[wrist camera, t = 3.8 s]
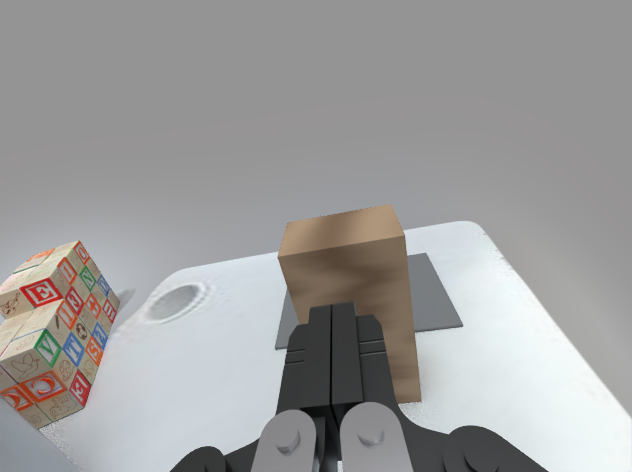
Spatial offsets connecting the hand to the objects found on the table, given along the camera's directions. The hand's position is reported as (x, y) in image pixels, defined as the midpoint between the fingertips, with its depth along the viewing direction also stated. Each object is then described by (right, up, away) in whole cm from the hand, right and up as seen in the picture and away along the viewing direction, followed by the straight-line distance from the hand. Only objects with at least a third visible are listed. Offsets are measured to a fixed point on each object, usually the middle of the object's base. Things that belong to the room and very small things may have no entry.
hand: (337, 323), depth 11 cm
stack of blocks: (-32, -13, +31) cm, 46 cm away
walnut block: (+4, -10, +18) cm, 21 cm away
